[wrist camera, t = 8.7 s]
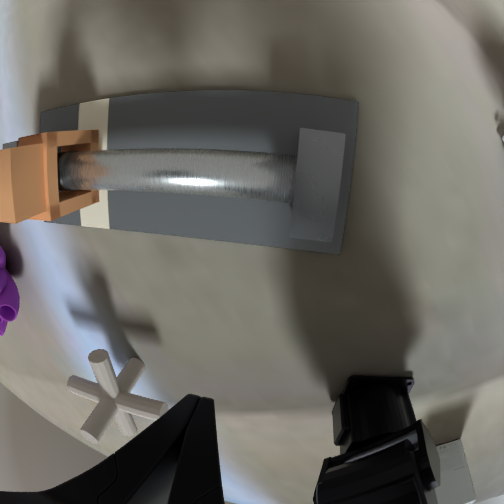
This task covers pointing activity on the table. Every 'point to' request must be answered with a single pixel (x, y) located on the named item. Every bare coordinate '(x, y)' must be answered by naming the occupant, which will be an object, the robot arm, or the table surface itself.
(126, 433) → the pipe connector
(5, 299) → the purple tube cluster
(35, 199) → the collar
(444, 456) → the skincare box
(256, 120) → the grey base plate
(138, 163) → the linear slide rail
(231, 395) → the table surface
